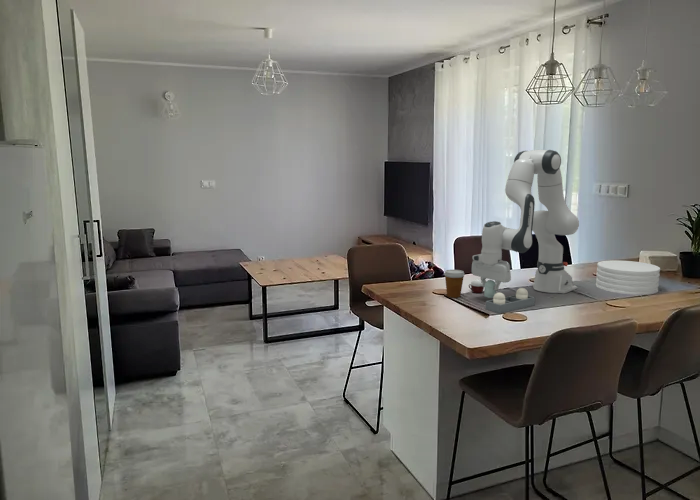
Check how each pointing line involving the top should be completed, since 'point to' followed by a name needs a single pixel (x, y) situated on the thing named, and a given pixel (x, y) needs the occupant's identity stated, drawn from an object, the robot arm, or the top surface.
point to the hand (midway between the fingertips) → (490, 288)
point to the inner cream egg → (522, 293)
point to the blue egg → (489, 289)
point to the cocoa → (476, 286)
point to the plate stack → (627, 277)
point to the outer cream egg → (499, 298)
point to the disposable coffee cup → (454, 282)
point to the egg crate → (510, 304)
